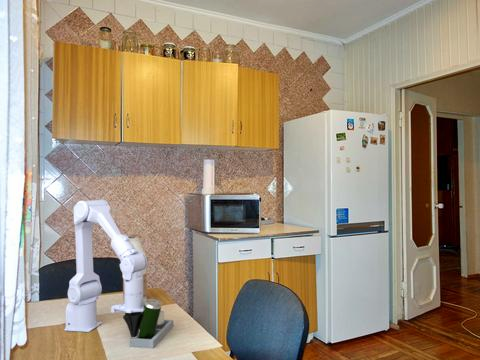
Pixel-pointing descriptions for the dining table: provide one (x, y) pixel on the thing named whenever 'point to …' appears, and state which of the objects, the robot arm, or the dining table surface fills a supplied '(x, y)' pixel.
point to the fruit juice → (137, 244)
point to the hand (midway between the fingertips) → (134, 335)
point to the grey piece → (156, 339)
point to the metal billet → (160, 320)
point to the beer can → (149, 319)
